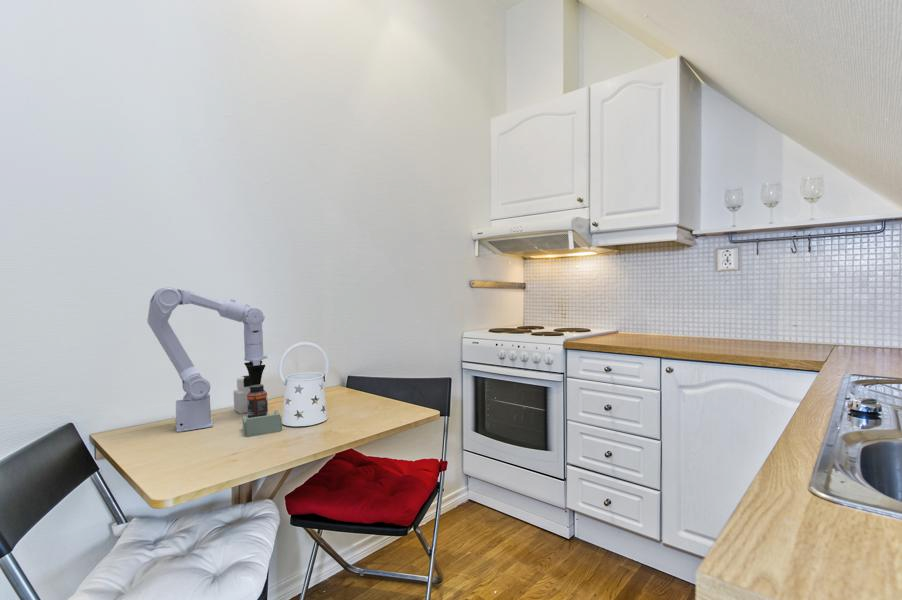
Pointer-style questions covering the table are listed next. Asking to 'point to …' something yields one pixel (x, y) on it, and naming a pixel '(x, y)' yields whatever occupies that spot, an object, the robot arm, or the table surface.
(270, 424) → the holder
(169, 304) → the robot arm
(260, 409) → the supplement bottle
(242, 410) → the medicine bottle
